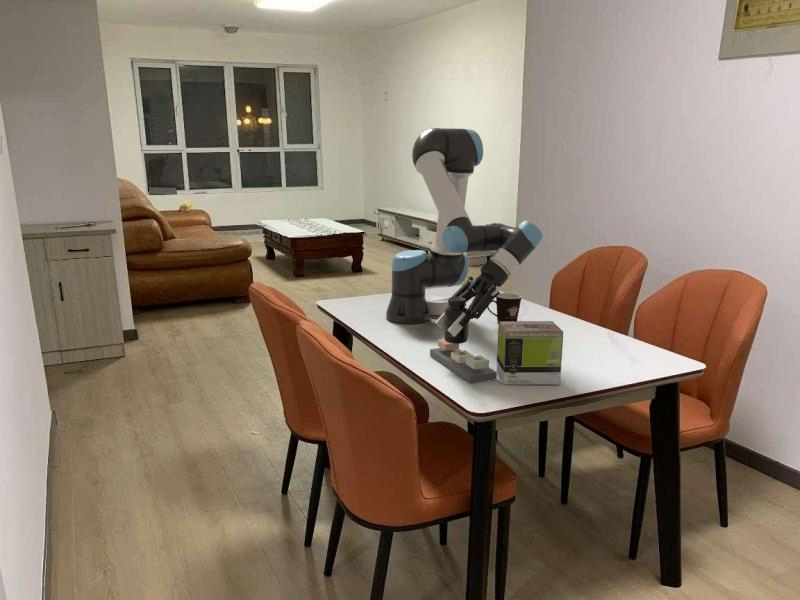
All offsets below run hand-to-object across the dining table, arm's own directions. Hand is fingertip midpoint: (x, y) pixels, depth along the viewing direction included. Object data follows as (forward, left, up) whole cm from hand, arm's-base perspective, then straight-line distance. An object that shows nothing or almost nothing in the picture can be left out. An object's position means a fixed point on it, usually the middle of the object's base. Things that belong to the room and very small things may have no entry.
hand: (444, 329), depth 175 cm
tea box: (+18, +16, -10) cm, 26 cm away
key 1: (-4, +4, -7) cm, 8 cm away
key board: (+4, +4, -10) cm, 11 cm away
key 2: (+12, +4, -7) cm, 14 cm away
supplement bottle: (0, +4, -4) cm, 5 cm away
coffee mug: (-29, +38, -10) cm, 49 cm away
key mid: (+4, +4, -8) cm, 10 cm away
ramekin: (-50, +23, -10) cm, 56 cm away
